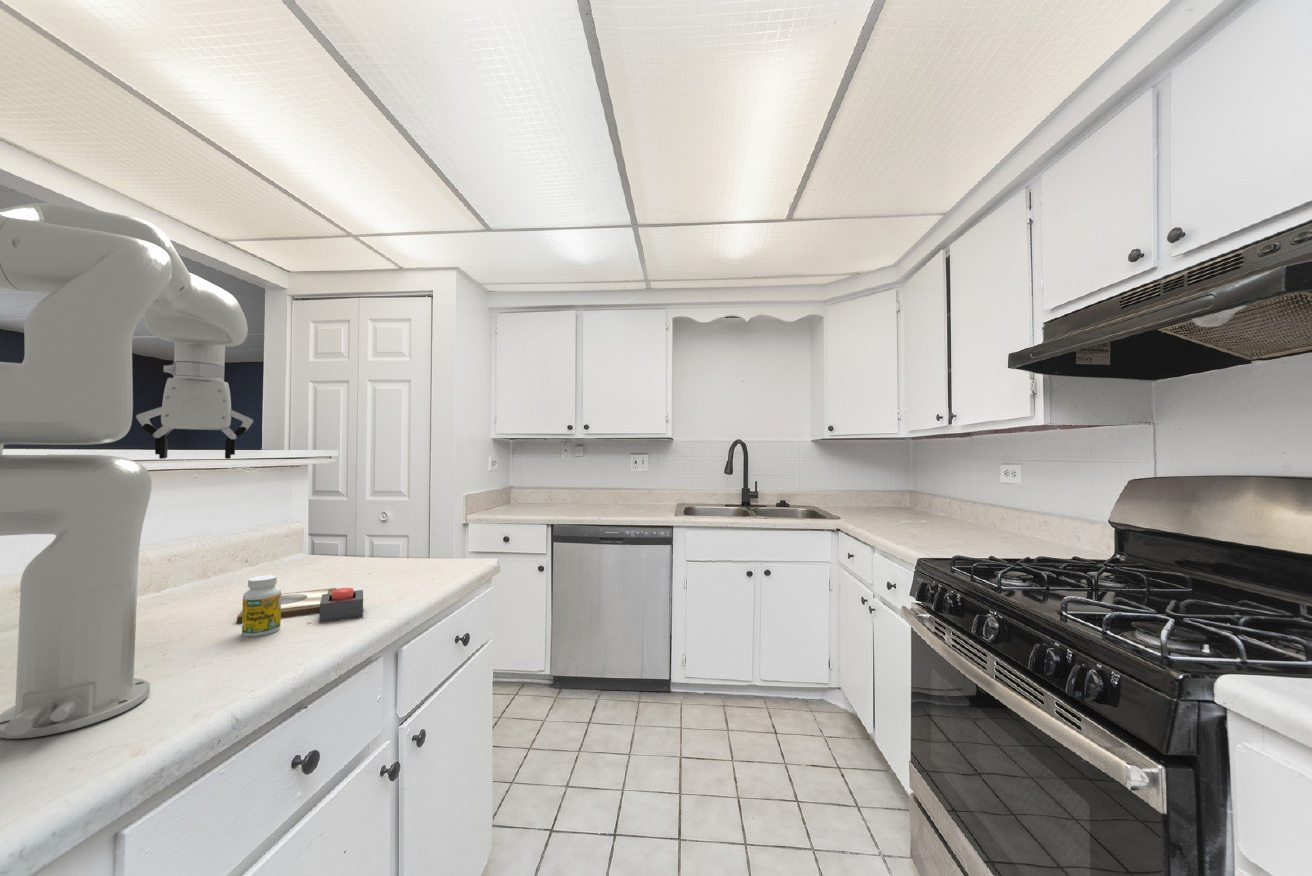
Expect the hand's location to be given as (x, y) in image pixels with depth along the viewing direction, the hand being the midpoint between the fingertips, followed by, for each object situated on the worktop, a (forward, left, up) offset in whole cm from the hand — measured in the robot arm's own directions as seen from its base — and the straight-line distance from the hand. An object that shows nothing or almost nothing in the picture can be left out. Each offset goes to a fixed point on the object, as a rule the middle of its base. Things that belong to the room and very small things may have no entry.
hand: (196, 458), depth 100 cm
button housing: (-18, -26, -30) cm, 44 cm away
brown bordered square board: (-8, -17, -30) cm, 36 cm away
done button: (-18, -26, -28) cm, 42 cm away
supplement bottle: (-22, -14, -30) cm, 40 cm away
